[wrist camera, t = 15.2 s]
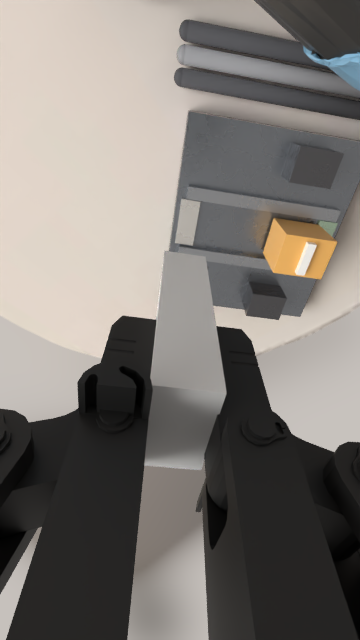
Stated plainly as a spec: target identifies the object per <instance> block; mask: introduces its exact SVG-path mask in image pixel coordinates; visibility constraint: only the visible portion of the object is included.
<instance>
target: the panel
mask: <svg viewBox="0 0 360 640" xmlns="http://www.w3.org/2000/svg"><path fill="white" fill-rule="evenodd" d="M359 181H360V141H356V140H351V139H345V138H340V137H334V136H329V135H323V134H317V133H312V132H306V131H301V130H295V129H290V128H284V127H278V126H273V125H267V124H262V123H256V122H251V121H245V120H239V119H234V118H228V117H223V116H217V115H212V114H206V113H200V112H195V111H189V110H188V116H187V123H186V131H185V138H184V145H183V152H182V160H181V167H180V174H179V181H178V189H177V196H176V203H175V210H174V218H173V225H172V232H171V239H170V247H169V251H170V252H177V253H184V254H191V255H198V256H205V257H206V262H207V269H208V275H209V282H210V288H211V295H212V301H213V306H221V307H229V308H236V309H244V310H245V313H246V316H253V317H261V318H268V319H276V320H279V318H280V315H281V314H282V315H290V316H298V317H300V316H301V314H302V311H303V309H304V307H305V304H306V302H307V300H308V298H309V295H310V293H311V291H312V288H313V286H314V284H315V282H316V279H314V278H307V277H300V276H293V275H286V274H279V273H273V271H272V269H271V268H270V266H269V264H268V262H267V260H266V258H265V256H264V254H263V251H264V248H265V244H266V241H267V238H268V235H269V232H270V229H271V225H272V222H273V219H274V218H278V219H285V220H291V221H298V222H304V223H311V224H317V225H320V226H321V227H322V228H323V229H324V230H325V231H326V232H327V233H328V234H329V235H331V236H332V237H333V238H335V236H336V234H337V231H338V229H339V227H340V224H341V222H342V220H343V218H344V215H345V213H346V211H347V208H348V206H349V204H350V202H351V199H352V197H353V195H354V192H355V190H356V188H357V186H358V183H359Z"/></svg>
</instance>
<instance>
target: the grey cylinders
mask: <svg viewBox="0 0 360 640" xmlns="http://www.w3.org/2000/svg"><path fill="white" fill-rule="evenodd" d="M179 33H180V36H181V38H182V39H183V40H184V41H186V42H191V43H196V44H201V45H206V46H211V47H216V48H221V49H226V50H231V51H237V52H242V53H247V54H252V55H257V56H262V57H267V58H272V59H277V60H282V61H287V62H292V63H297V64H302V65H308V66H313V67H318V68H323V69H328V70H331V69H330V68H329V67H327V66H325V65H322V64H319V63H316V62H314V61H313V60H311V59H310V58H309V57H308V56H307V55H306V54H305V53H304V50H303V45H302V44H301V43H300V42H296V41H291V40H287V39H282V38H277V37H272V36H267V35H262V34H257V33H252V32H247V31H242V30H237V29H232V28H227V27H222V26H218V25H213V24H208V23H203V22H198V21H193V20H184V21H183V22H182V23H181V25H180V29H179ZM177 59H178V61H179V63H180V64H182V65H187V66H192V67H197V68H202V69H208V70H213V71H218V72H223V73H229V74H234V75H239V76H244V77H249V78H255V79H260V80H265V81H270V82H276V83H281V84H286V85H291V86H297V87H302V88H307V89H312V90H318V91H323V92H328V93H333V94H338V95H344V96H349V97H354V98H359V99H360V91H359V90H357V89H355V88H354V87H352V86H351V85H349V84H348V83H347V82H346V81H345V80H343V79H342V78H341V77H340V76H338V75H337V74H334V73H329V72H324V71H318V70H313V69H308V68H303V67H298V66H293V65H288V64H283V63H278V62H273V61H268V60H262V59H257V58H252V57H247V56H242V55H237V54H232V53H227V52H222V51H217V50H212V49H206V48H201V47H196V46H191V45H186V44H184V45H181V46H180V47H179V48H178V50H177ZM174 80H175V83H176V84H177V85H178V86H180V87H184V88H190V89H195V90H201V91H206V92H211V93H217V94H222V95H228V96H233V97H238V98H244V99H249V100H255V101H260V102H265V103H271V104H276V105H282V106H287V107H292V108H298V109H303V110H309V111H314V112H319V113H325V114H330V115H336V116H341V117H346V118H352V119H357V120H360V101H355V100H350V99H345V98H340V97H334V96H329V95H324V94H319V93H313V92H308V91H303V90H298V89H292V88H287V87H282V86H277V85H271V84H266V83H261V82H256V81H250V80H245V79H240V78H235V77H229V76H224V75H219V74H214V73H208V72H203V71H198V70H193V69H187V68H179V69H177V70H176V72H175V75H174Z"/></svg>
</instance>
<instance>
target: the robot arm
mask: <svg viewBox="0 0 360 640" xmlns="http://www.w3.org/2000/svg"><path fill="white" fill-rule="evenodd" d="M254 1H255V2H256V3H258V4H259V5H260V6H261V7H262V8H263V9H264V10H265V11H266V12H267V13H268V14H269V15H271V16H272V17H273V18H274V19H275V20H276V21H277V22H278V23H279V24H280V25H281V26H282V27H284V28H285V29H286V30H287V31H288V32H289V33H290V34H291V35H292V36H293V37H294V38H295V39H297V40H298V41H299V42H300V43H301V44H302V45H303V50H304V53H305V54H306V55H307V56H308V57H309V58H310V59H311V60H313V61H314V62H316V63H319V64H322V65H325V66H327V67H329V68H330V69H331V70H332V71H334V72H335V73H336V74H337V75H338V76H340V77H341V78H342V79H343V80H345V81H346V82H347V83H348V84H349V85H351V86H352V87H354V88H355V89H357V90H359V91H360V0H254ZM78 402H79V408H78V409H77V410H75V411H73V412H71V413H69V414H67V415H65V416H61V417H57V418H53V419H48V420H42V421H36V422H30V423H29V422H28V421H27V419H26V417H25V416H23V415H21V414H19V413H18V412H16V411H13V410H5V409H0V594H1V592H2V590H3V589H4V587H5V585H6V583H7V582H8V580H9V578H10V576H11V575H12V572H13V571H14V569H15V567H16V566H17V564H18V562H19V560H20V559H21V557H22V555H23V553H24V552H25V550H26V548H27V546H28V545H29V543H30V541H31V539H32V538H33V536H34V534H35V532H36V530H37V529H38V528H39V527H42V530H41V533H40V536H39V539H38V542H37V545H36V548H35V551H34V554H33V557H32V561H31V564H30V567H29V570H28V573H27V576H26V580H25V583H24V585H23V589H22V592H21V595H20V598H19V601H18V604H17V607H16V610H15V613H14V617H13V620H12V623H11V626H10V629H9V632H8V635H7V638H6V640H127V635H128V624H129V614H130V605H131V594H132V584H133V574H134V564H135V553H136V543H137V533H138V523H139V512H140V503H141V492H142V482H143V471H144V465H146V466H158V467H169V468H181V469H192V470H201V468H202V465H203V462H204V459H205V471H206V479H205V482H204V484H203V487H202V490H201V493H200V495H199V498H198V501H197V507H196V512H200V511H201V509H202V512H203V531H204V552H205V573H206V593H207V613H208V633H209V640H360V443H359V442H347V443H344V444H342V445H340V446H339V447H338V448H337V450H336V451H335V452H332V451H329V450H327V449H324V448H321V447H319V446H316V445H313V444H311V443H309V442H306V441H304V440H302V439H300V438H298V437H296V436H294V435H293V434H291V432H290V430H289V428H288V426H287V424H286V423H285V422H284V421H283V420H282V419H281V418H280V417H279V416H278V415H277V414H276V413H274V412H273V411H272V410H271V407H270V404H269V400H268V397H267V394H266V390H265V386H264V383H263V379H262V376H261V373H260V369H259V367H258V362H257V359H256V356H255V352H254V348H253V345H252V341H251V340H250V339H249V338H248V336H247V335H246V334H245V333H244V332H243V331H242V329H234V328H226V327H218V326H216V321H215V314H214V308H213V301H212V295H211V288H210V282H209V275H208V269H207V262H206V257H205V256H198V255H191V254H184V253H177V252H170V251H165V252H164V260H163V267H162V275H161V283H160V291H159V298H158V306H157V314H156V320H153V319H145V318H137V317H129V316H122V317H121V318H119V319H118V320H117V321H116V322H115V323H114V324H113V325H112V327H111V331H110V334H109V337H108V340H107V344H106V347H105V351H104V354H103V357H102V360H101V363H100V364H97V365H94V366H93V367H91V368H90V369H88V370H87V371H85V372H84V373H83V375H82V377H81V378H80V379H79V381H78Z"/></svg>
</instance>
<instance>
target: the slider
mask: <svg viewBox="0 0 360 640" xmlns="http://www.w3.org/2000/svg"><path fill="white" fill-rule="evenodd" d="M336 244H337V241H336V240H335V239H334V238H333V237H332V236H331V235H329V234H328V233H327V232H326V231H325V230H324V229H323V228H322V227H321V226H320V225H317V224H311V223H304V222H298V221H291V220H285V219H278V218H274V219H273V222H272V225H271V229H270V232H269V235H268V238H267V241H266V244H265V248H264V251H263V254H264V256H265V258H266V260H267V262H268V264H269V266H270V268H271V269H272V271H273V273H279V274H286V275H293V276H300V277H307V278H314V279H321V278H322V276H323V273H324V271H325V269H326V267H327V264H328V262H329V260H330V258H331V256H332V253H333V251H334V249H335V247H336Z"/></svg>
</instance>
